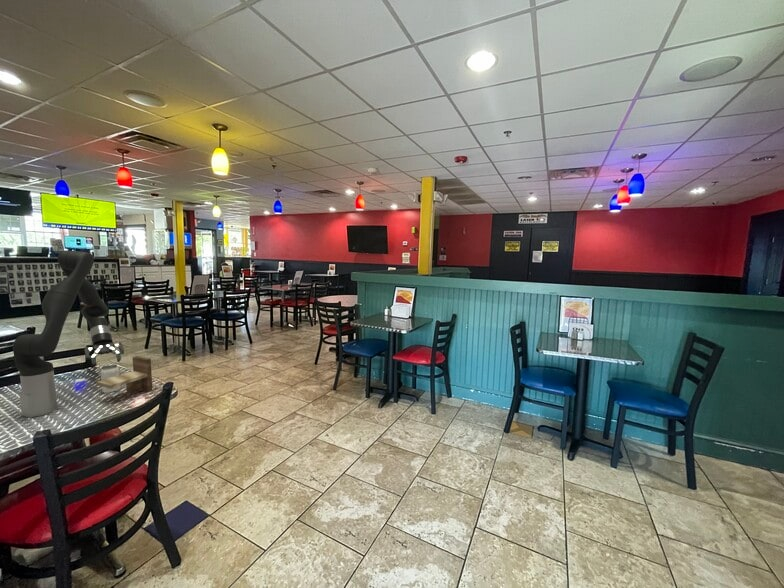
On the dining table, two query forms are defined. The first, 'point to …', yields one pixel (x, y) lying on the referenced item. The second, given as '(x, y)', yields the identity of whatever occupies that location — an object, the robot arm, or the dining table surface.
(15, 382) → the dining table surface
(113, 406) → the dining table surface
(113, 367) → the can
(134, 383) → the wooden l-shaped bracket
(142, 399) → the dining table surface
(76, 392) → the dining table surface
